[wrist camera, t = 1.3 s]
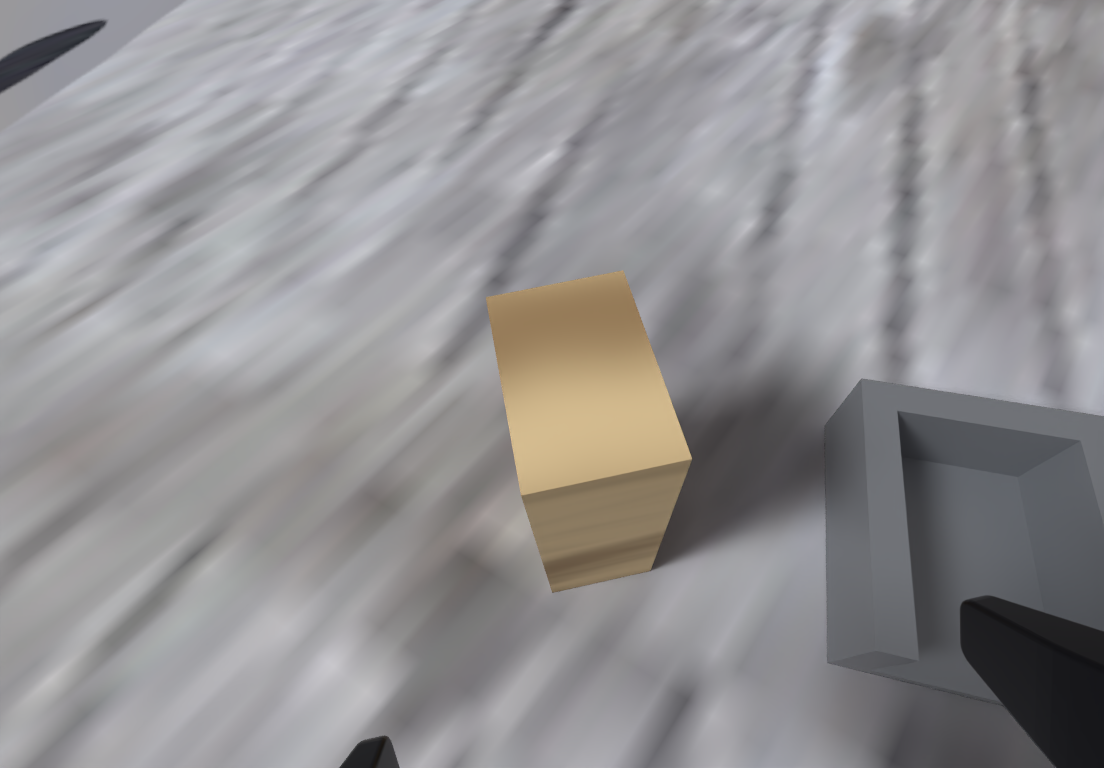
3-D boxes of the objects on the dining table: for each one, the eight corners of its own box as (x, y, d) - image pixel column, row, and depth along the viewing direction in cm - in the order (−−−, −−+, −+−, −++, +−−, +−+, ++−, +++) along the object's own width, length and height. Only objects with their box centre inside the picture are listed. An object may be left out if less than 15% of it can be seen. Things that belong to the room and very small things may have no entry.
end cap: (1093, 727, 18) (1206, 728, 15) (827, 662, 20) (875, 650, 16) (1035, 462, 23) (1110, 417, 20) (824, 425, 25) (861, 378, 21)
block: (650, 570, 22) (692, 458, 13) (552, 592, 22) (521, 495, 12) (612, 438, 25) (623, 270, 16) (526, 456, 25) (485, 297, 16)
